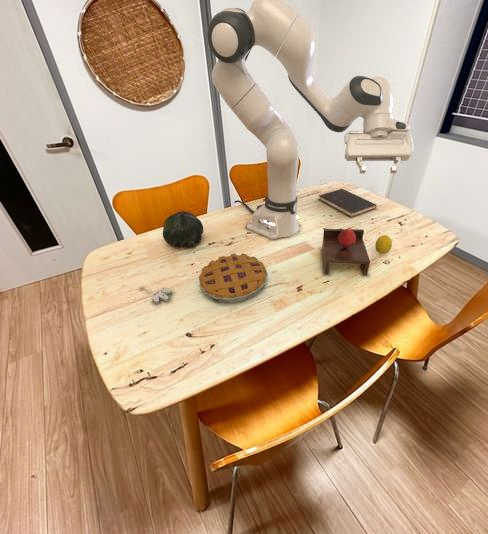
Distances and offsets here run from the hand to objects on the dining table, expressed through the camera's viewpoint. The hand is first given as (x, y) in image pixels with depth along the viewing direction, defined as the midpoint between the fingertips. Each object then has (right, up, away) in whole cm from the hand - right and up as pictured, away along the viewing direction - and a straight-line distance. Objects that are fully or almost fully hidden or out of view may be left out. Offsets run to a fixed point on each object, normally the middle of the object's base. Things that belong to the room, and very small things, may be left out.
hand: (378, 172), depth 86 cm
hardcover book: (+3, +1, +50) cm, 50 cm away
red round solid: (-8, -23, +9) cm, 26 cm away
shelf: (-8, -27, +13) cm, 31 cm away
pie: (-45, -35, +5) cm, 57 cm away
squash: (-67, -20, +25) cm, 74 cm away
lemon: (+7, -25, +16) cm, 30 cm away
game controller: (-70, -38, +2) cm, 79 cm away
